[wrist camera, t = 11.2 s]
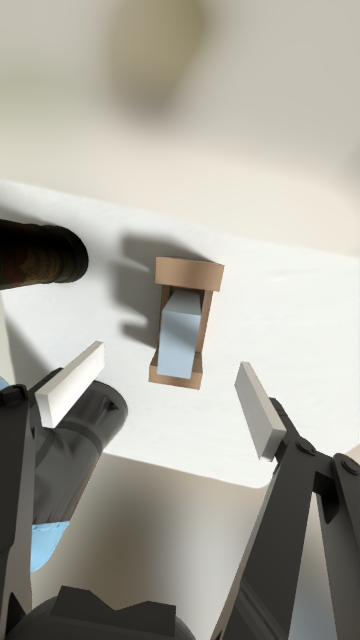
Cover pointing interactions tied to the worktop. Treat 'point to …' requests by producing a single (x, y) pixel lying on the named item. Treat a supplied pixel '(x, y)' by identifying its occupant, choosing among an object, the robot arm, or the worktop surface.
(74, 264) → the container
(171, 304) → the door
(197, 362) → the frame
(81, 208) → the worktop surface
